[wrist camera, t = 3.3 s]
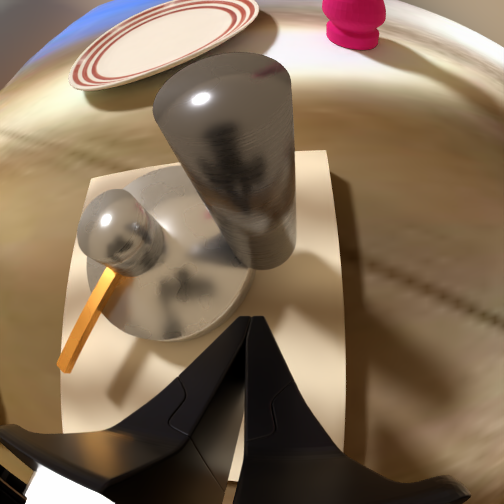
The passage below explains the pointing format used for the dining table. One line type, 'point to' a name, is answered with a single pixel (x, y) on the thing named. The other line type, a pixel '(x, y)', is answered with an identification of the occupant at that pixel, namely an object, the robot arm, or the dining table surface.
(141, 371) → the stand
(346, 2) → the pepper mill
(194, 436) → the robot arm
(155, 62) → the dinner plate
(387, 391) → the dining table surface
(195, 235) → the shiny grey rounded pieces
